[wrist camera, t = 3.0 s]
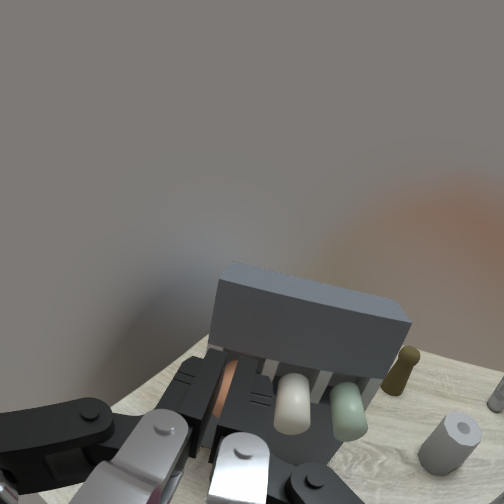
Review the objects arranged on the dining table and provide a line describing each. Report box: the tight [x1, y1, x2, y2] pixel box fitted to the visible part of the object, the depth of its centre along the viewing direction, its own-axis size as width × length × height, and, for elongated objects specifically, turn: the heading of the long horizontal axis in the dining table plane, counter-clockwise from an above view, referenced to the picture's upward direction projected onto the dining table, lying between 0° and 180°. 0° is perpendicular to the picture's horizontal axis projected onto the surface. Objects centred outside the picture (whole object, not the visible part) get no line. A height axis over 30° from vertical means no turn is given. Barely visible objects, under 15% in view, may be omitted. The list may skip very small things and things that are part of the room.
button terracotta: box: [212, 360, 238, 418], centre depth 26 cm, size 6×3×3 cm, turn 172°
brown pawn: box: [381, 346, 420, 396], centre depth 53 cm, size 6×6×11 cm
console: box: [200, 261, 412, 466], centre depth 32 cm, size 6×20×27 cm, turn 82°
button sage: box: [330, 382, 368, 442], centre depth 25 cm, size 6×3×3 cm, turn 172°
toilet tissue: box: [418, 411, 482, 476], centre depth 32 cm, size 9×13×9 cm
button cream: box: [274, 373, 310, 435], centre depth 25 cm, size 6×3×3 cm, turn 172°
